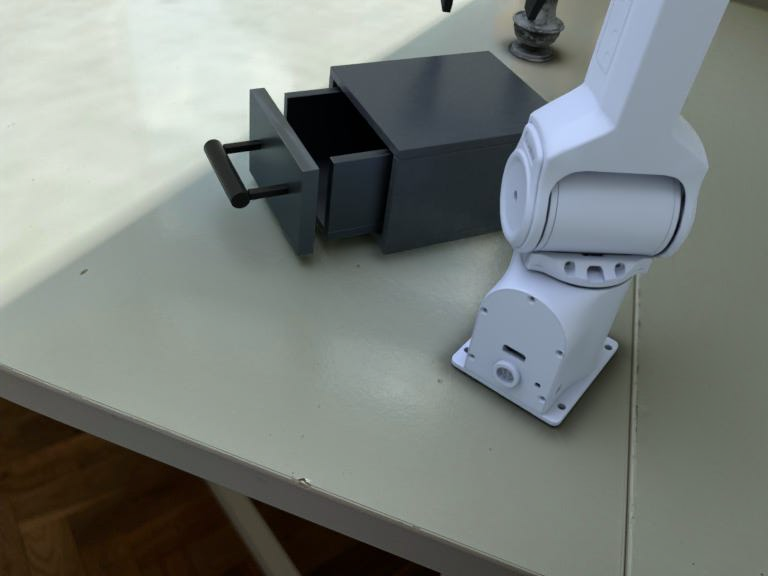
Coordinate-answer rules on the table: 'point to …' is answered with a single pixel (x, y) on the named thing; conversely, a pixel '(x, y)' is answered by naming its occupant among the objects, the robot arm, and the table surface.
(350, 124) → the drawer
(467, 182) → the cabinet
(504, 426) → the table surface
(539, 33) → the ornate metal candlestick
